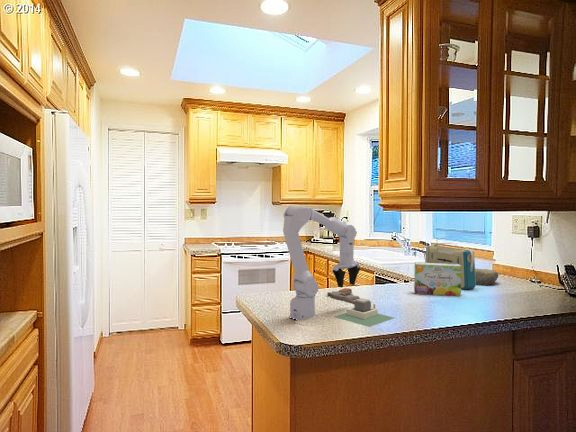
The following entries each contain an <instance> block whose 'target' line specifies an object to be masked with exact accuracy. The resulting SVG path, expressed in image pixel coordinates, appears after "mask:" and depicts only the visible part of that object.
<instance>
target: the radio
mask: <svg viewBox="0 0 576 432" xmlns="http://www.w3.org/2000/svg"><path fill="white" fill-rule="evenodd" d="M435 239H436V240H438V239H439V238H438V237H436V238H435ZM445 244H451V245H453V243H452V242H441V243H439V242H438V243H435V244H433V245H427V246H426V249H425V259H424V261H425V262H424V263H442V264H459V265H461V266H462V272H461V291H464V290H471V289H472V290H473V289H475V288H476V286H477V285H476V279H475V269H476V263H475V262H476V261H475V251H474V250H472V249H470V248H468V247H465V246H463V245H459V244H458V247H459V246H460V247H462V248H464V249H462V248H454V247H446V246H441V245H445ZM454 245H456V246H457V244H456V243H454Z"/></svg>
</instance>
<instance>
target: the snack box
mask: <svg viewBox="0 0 576 432" xmlns="http://www.w3.org/2000/svg"><path fill="white" fill-rule="evenodd" d="M461 272H462V266H461V265H459V264H442V263H425V262H419V261H418V262H417V261H416V262H414V276H413V277H414V281H413V282H414V283H413V286H414V287H413V288H414V289H413V290H414V291H413V292H414V294H415V295H417V294H418V295H433V296H447V297H449V296H451V297H461V295H462V289H461Z"/></svg>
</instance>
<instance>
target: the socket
mask: <svg viewBox="0 0 576 432" xmlns="http://www.w3.org/2000/svg"><path fill="white" fill-rule="evenodd" d="M346 313H347V315H350V316H354V317H358V318H361V319H367V318H370V317H373V316H376V315H377V313H379V311H378V308H377V309H376V308H375V309H374V308H372V307H371V310H370V311H367V312H360V311H356V310H354V306H353V307H349V308H346Z"/></svg>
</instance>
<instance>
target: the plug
mask: <svg viewBox="0 0 576 432" xmlns="http://www.w3.org/2000/svg"><path fill="white" fill-rule="evenodd" d="M353 305H354V306H353V307H354V310H356V311H360V312H367V311H370V310H371V308H372V302H371V300H370V299H368V298H364V297H363V298H362V297H360V299H356V300H354V304H353Z"/></svg>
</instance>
